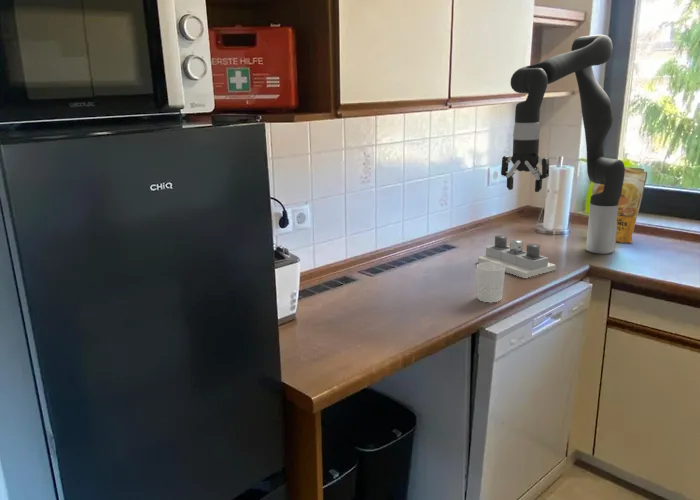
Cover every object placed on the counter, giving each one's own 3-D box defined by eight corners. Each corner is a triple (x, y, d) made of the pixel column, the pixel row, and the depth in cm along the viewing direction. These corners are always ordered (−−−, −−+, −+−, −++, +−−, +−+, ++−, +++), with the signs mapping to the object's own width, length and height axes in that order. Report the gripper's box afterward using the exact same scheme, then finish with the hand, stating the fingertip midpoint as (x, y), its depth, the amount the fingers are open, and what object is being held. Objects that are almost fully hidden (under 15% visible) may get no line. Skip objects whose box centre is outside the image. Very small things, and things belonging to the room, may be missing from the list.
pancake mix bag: (590, 233, 231) (597, 163, 224) (640, 241, 218) (648, 167, 210) (583, 236, 227) (589, 165, 219) (633, 245, 214) (641, 170, 206)
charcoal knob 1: (500, 244, 200) (500, 234, 199) (509, 246, 197) (509, 236, 196) (492, 246, 198) (492, 236, 197) (500, 248, 195) (501, 238, 194)
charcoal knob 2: (532, 253, 189) (532, 243, 188) (541, 256, 185) (542, 245, 184) (523, 255, 187) (524, 245, 186) (533, 258, 183) (534, 247, 182)
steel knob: (515, 248, 194) (516, 238, 193) (524, 251, 191) (525, 241, 190) (507, 250, 192) (507, 240, 191) (516, 253, 189) (517, 243, 188)
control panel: (506, 255, 205) (507, 242, 204) (555, 270, 188) (556, 255, 187) (477, 262, 198) (478, 248, 197) (525, 278, 181) (526, 263, 180)
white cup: (498, 306, 160) (500, 272, 157) (471, 301, 164) (472, 268, 161) (507, 297, 166) (508, 264, 164) (480, 292, 170) (482, 260, 168)
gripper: (554, 137, 172) (550, 190, 176) (508, 135, 180) (506, 186, 185) (545, 139, 166) (541, 194, 171) (498, 138, 175) (496, 190, 179)
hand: (523, 190), depth 178 cm, fingers open, 8 cm apart
